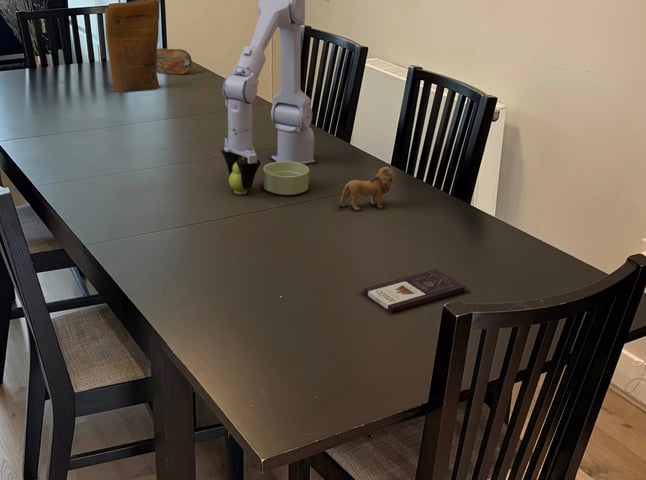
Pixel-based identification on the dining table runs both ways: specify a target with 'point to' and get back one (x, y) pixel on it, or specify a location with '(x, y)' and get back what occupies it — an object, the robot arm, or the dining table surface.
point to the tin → (173, 61)
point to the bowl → (286, 177)
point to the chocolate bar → (413, 290)
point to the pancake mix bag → (133, 44)
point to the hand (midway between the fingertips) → (240, 183)
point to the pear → (236, 180)
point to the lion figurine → (369, 188)
